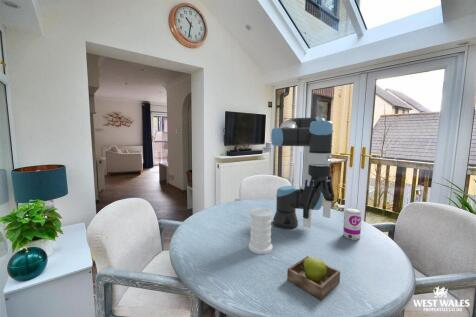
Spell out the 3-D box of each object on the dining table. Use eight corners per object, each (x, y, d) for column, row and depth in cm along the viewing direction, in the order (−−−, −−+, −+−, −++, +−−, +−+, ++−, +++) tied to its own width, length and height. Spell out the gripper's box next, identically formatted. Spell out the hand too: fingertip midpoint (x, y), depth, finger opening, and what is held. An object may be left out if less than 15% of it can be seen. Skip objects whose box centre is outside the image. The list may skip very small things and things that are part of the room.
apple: (298, 272, 86) (299, 252, 85) (322, 273, 85) (323, 254, 84) (303, 285, 78) (303, 264, 77) (329, 287, 77) (330, 266, 77)
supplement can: (362, 241, 113) (364, 213, 112) (345, 239, 115) (346, 212, 113) (357, 234, 121) (358, 208, 119) (341, 232, 123) (342, 207, 121)
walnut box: (287, 280, 82) (287, 268, 82) (307, 266, 91) (307, 256, 91) (320, 300, 72) (321, 287, 72) (339, 282, 81) (340, 271, 80)
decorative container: (274, 244, 110) (275, 209, 108) (270, 256, 99) (270, 217, 97) (252, 240, 114) (252, 207, 112) (245, 251, 103) (245, 214, 101)
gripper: (309, 169, 67) (307, 235, 69) (345, 162, 83) (342, 216, 85) (289, 166, 73) (287, 227, 75) (326, 160, 89) (324, 211, 91)
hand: (317, 221), depth 80 cm, fingers open, 13 cm apart
